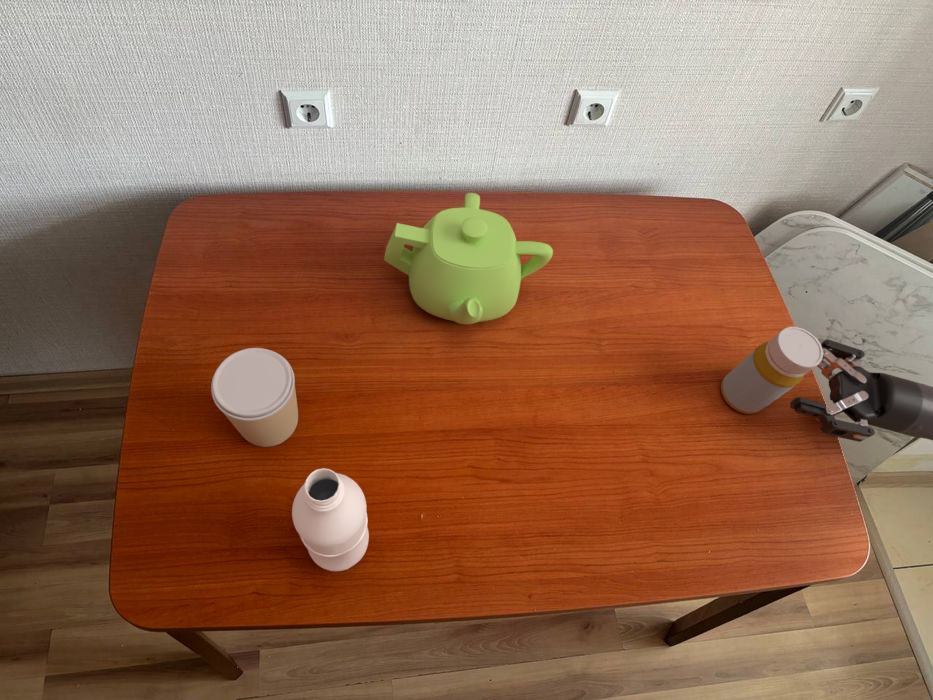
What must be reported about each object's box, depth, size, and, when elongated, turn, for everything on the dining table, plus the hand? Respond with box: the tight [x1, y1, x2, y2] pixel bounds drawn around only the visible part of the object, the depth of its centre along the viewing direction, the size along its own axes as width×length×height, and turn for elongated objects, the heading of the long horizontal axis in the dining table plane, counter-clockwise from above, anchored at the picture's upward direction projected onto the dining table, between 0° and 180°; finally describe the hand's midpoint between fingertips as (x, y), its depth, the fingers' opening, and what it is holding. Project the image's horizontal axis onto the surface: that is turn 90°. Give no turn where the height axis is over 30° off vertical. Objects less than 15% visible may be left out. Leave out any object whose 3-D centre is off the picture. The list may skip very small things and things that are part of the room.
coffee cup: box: [210, 347, 299, 448], centre depth 74 cm, size 9×9×12 cm
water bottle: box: [291, 467, 370, 572], centre depth 62 cm, size 7×7×25 cm
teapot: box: [383, 192, 554, 326], centre depth 87 cm, size 19×20×14 cm
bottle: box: [720, 326, 823, 415], centre depth 84 cm, size 7×7×15 cm
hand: (791, 375), depth 83 cm, fingers open, 8 cm apart
